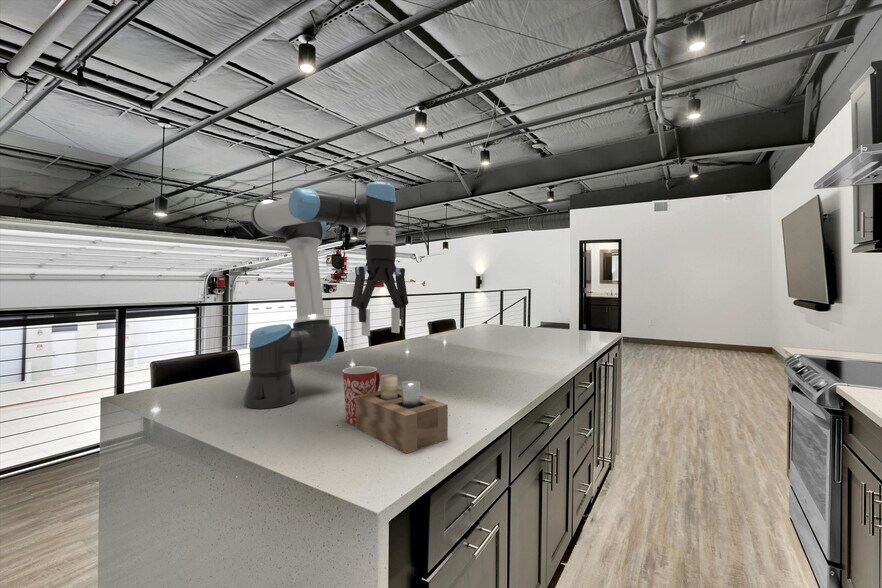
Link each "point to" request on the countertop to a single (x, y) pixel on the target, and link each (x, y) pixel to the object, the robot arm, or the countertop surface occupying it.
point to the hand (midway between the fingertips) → (381, 333)
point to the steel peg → (410, 394)
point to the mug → (358, 387)
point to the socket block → (402, 421)
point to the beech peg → (389, 386)
